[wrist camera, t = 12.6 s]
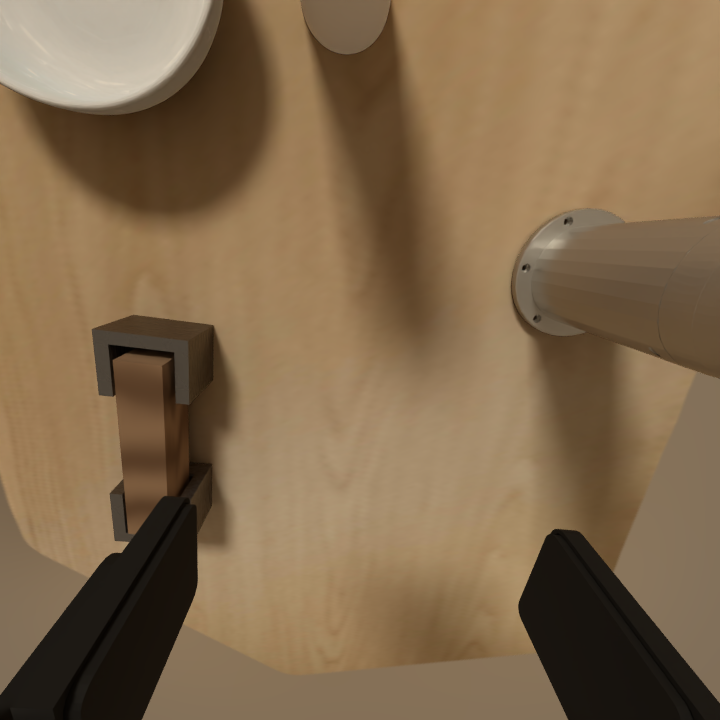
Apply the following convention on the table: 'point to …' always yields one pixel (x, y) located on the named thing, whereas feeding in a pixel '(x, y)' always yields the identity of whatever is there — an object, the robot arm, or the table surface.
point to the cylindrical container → (346, 22)
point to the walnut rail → (150, 431)
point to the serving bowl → (104, 50)
